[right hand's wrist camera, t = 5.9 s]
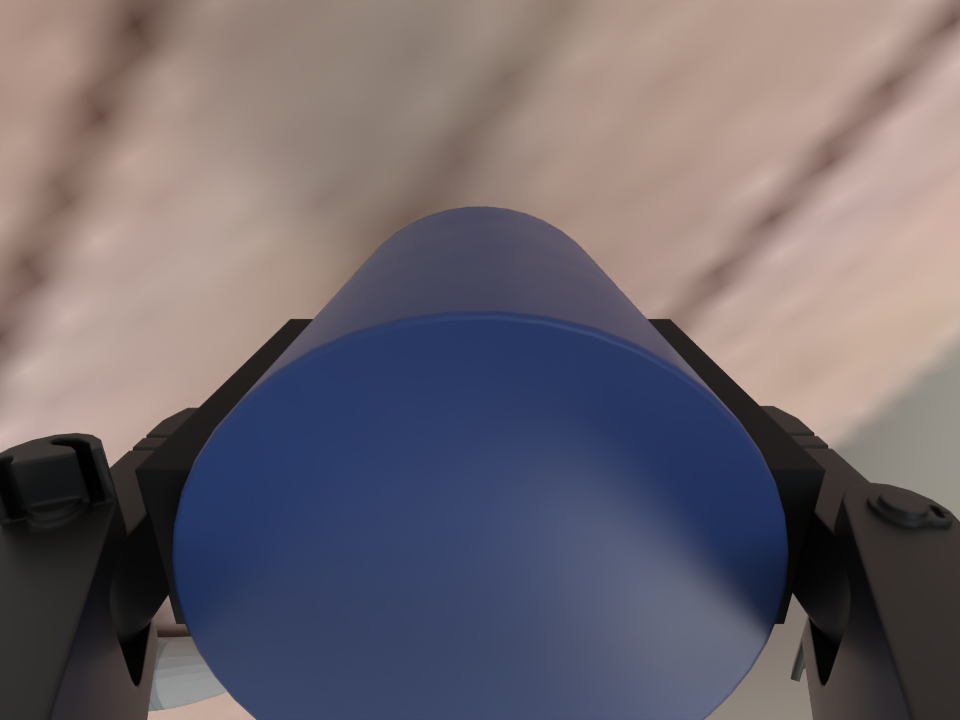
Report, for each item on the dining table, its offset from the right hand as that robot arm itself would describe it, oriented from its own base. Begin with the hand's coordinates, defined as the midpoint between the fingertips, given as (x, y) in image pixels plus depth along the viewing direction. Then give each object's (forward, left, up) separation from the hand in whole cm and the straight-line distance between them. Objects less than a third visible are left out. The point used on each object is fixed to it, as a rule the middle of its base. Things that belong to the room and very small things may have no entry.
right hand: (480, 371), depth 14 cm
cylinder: (0, 0, -2) cm, 2 cm away
